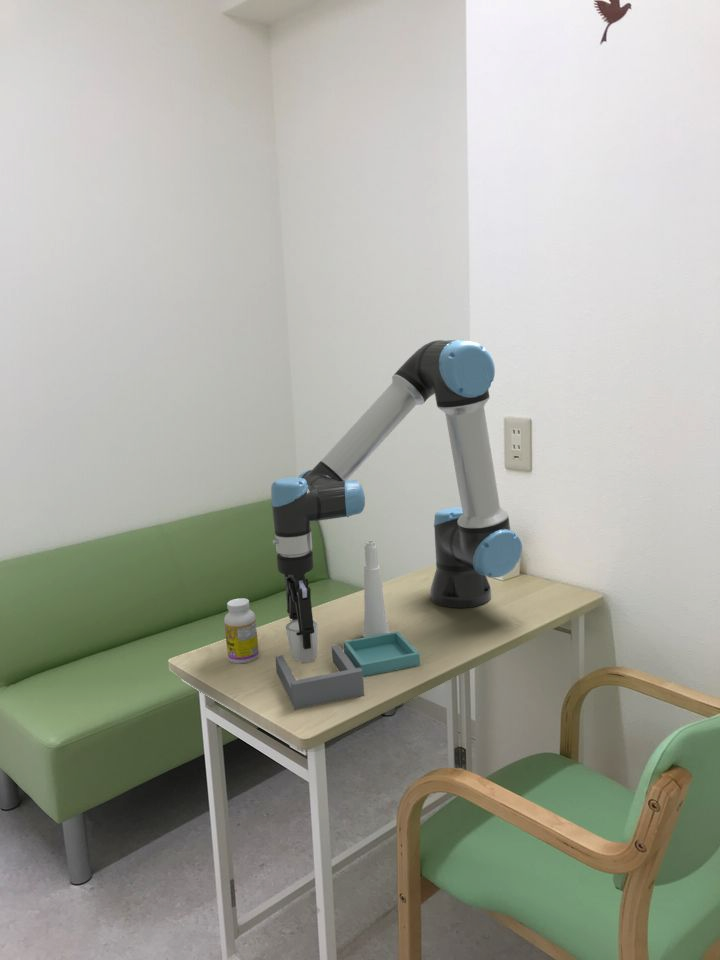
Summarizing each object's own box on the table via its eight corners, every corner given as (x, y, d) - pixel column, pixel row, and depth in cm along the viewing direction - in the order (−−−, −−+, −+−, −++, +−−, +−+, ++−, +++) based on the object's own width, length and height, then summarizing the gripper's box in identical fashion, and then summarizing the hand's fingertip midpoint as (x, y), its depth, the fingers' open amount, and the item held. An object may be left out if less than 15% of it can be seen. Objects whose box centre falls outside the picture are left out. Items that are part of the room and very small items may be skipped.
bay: (276, 672, 158) (274, 649, 157) (339, 660, 162) (338, 637, 161) (294, 709, 142) (292, 684, 141) (364, 695, 146) (362, 670, 145)
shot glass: (296, 647, 169) (293, 617, 168) (325, 650, 167) (322, 620, 165) (282, 660, 163) (279, 629, 161) (312, 663, 160) (309, 632, 159)
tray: (398, 641, 169) (398, 631, 168) (420, 664, 157) (419, 653, 156) (343, 652, 165) (343, 641, 165) (361, 676, 153) (361, 665, 153)
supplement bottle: (225, 655, 168) (219, 599, 165) (255, 649, 170) (249, 594, 167) (231, 667, 161) (225, 609, 159) (262, 660, 164) (256, 604, 161)
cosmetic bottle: (371, 642, 169) (365, 547, 165) (357, 634, 174) (351, 541, 170) (394, 635, 172) (389, 542, 168) (380, 627, 177) (374, 536, 173)
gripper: (267, 542, 168) (276, 640, 173) (287, 568, 150) (296, 677, 154) (300, 537, 170) (308, 634, 175) (324, 562, 152) (332, 669, 156)
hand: (303, 654), depth 165 cm, fingers closed on shot glass, 7 cm apart
